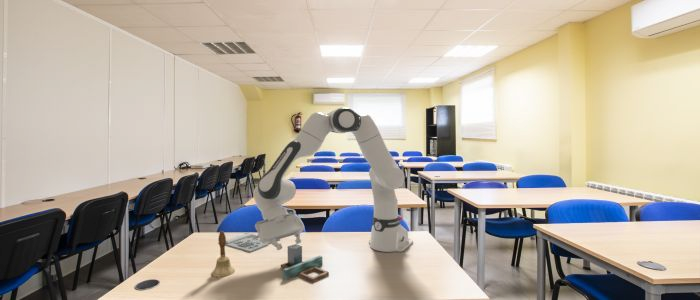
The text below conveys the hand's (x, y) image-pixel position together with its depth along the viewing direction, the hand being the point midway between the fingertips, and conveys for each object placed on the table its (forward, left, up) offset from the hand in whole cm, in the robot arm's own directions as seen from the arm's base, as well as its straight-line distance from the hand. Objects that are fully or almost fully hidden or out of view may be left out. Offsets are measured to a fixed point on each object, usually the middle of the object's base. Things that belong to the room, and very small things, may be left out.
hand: (289, 245), depth 129 cm
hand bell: (+21, -14, -8) cm, 26 cm away
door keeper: (0, +9, -8) cm, 12 cm away
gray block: (0, +3, -8) cm, 9 cm away
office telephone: (-5, -38, -9) cm, 39 cm away
